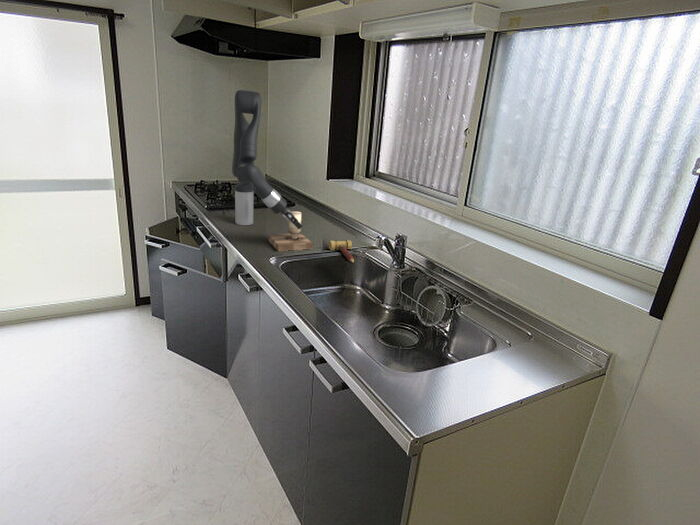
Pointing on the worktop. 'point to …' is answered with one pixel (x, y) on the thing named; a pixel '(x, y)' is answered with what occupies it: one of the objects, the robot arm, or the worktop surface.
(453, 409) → the worktop surface
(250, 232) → the worktop surface
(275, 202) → the robot arm
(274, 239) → the board
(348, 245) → the gavel
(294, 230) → the cream upside-down bottle
